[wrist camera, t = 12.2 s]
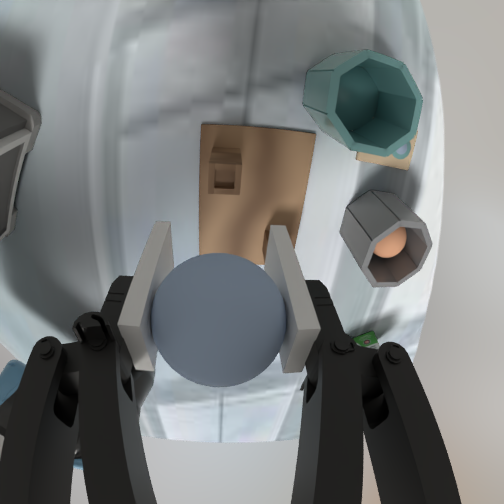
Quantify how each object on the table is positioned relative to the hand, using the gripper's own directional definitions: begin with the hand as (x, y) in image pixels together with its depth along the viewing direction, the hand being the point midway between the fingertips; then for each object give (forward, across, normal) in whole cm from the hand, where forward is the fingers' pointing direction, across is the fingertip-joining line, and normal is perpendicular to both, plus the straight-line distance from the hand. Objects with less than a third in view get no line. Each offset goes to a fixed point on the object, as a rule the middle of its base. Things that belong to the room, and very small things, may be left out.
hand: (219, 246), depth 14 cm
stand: (+15, +3, -4) cm, 16 cm away
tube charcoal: (+15, +18, -6) cm, 24 cm away
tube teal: (+15, +11, +8) cm, 20 cm away
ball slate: (-5, 0, 0) cm, 5 cm away
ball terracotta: (+12, +19, -6) cm, 23 cm away
